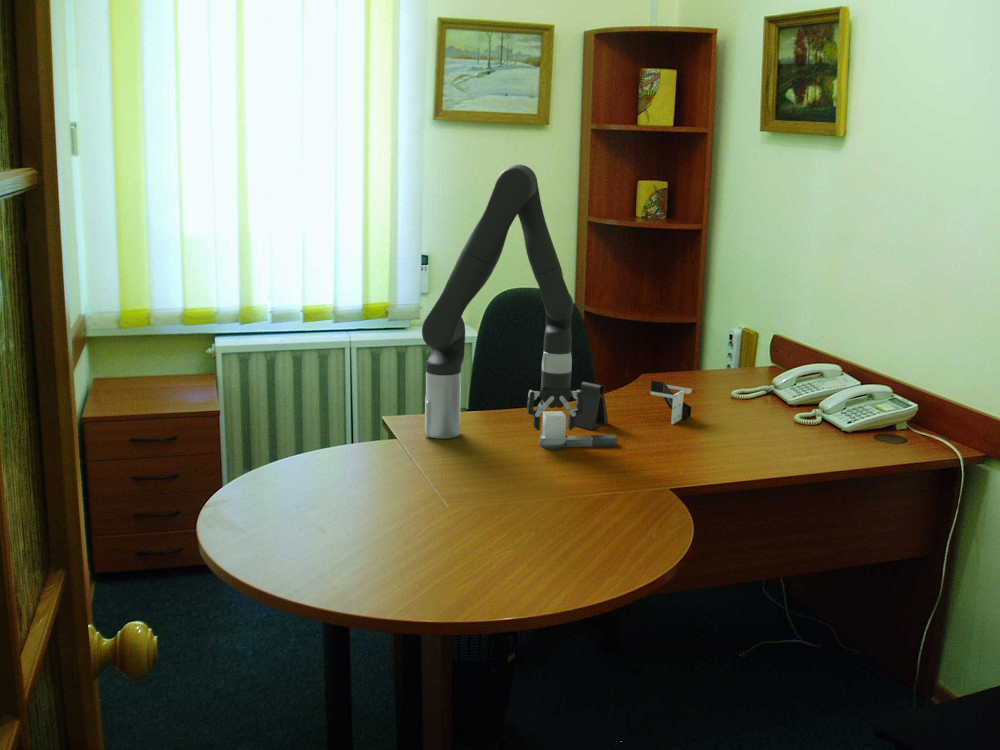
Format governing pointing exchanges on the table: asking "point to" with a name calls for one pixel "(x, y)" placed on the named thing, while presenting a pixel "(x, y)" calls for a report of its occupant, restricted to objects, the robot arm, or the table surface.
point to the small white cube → (553, 425)
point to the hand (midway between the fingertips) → (553, 429)
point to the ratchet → (579, 441)
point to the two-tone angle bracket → (673, 399)
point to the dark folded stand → (592, 407)
